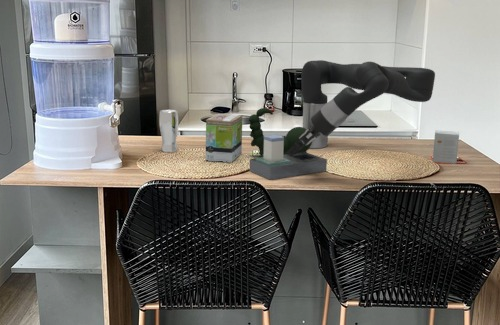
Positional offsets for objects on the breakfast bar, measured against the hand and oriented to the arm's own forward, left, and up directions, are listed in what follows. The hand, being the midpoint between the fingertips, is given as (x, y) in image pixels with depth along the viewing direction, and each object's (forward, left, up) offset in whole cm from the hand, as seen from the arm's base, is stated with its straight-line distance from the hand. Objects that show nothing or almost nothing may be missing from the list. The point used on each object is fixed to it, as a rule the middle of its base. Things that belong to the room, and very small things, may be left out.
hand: (292, 151), depth 171 cm
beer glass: (+20, -51, -8) cm, 56 cm away
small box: (-59, +10, -8) cm, 61 cm away
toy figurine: (-12, -22, -8) cm, 27 cm away
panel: (-2, -5, -8) cm, 10 cm away
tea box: (+7, -32, -8) cm, 34 cm away
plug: (+4, -5, -8) cm, 10 cm away
